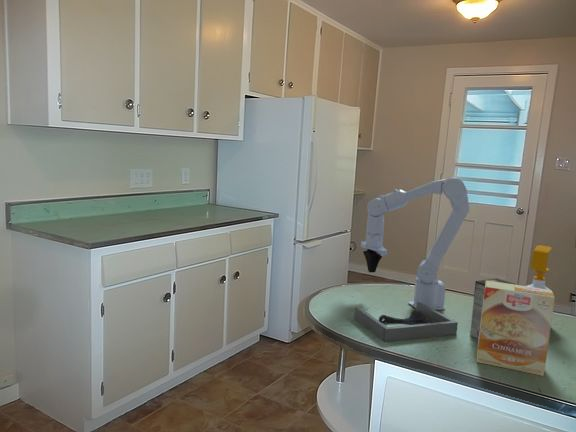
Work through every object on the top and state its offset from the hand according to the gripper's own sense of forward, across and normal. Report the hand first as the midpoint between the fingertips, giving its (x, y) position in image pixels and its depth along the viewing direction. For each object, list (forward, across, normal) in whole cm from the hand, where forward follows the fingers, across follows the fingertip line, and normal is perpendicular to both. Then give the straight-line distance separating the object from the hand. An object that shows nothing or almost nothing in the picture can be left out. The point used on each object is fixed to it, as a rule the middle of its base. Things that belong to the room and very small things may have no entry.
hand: (371, 271), depth 158 cm
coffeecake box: (+10, +53, +9) cm, 55 cm away
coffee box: (+10, +38, +17) cm, 43 cm away
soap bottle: (+10, +33, +39) cm, 52 cm away
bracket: (+10, +22, -1) cm, 25 cm away
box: (+9, +25, -3) cm, 27 cm away
